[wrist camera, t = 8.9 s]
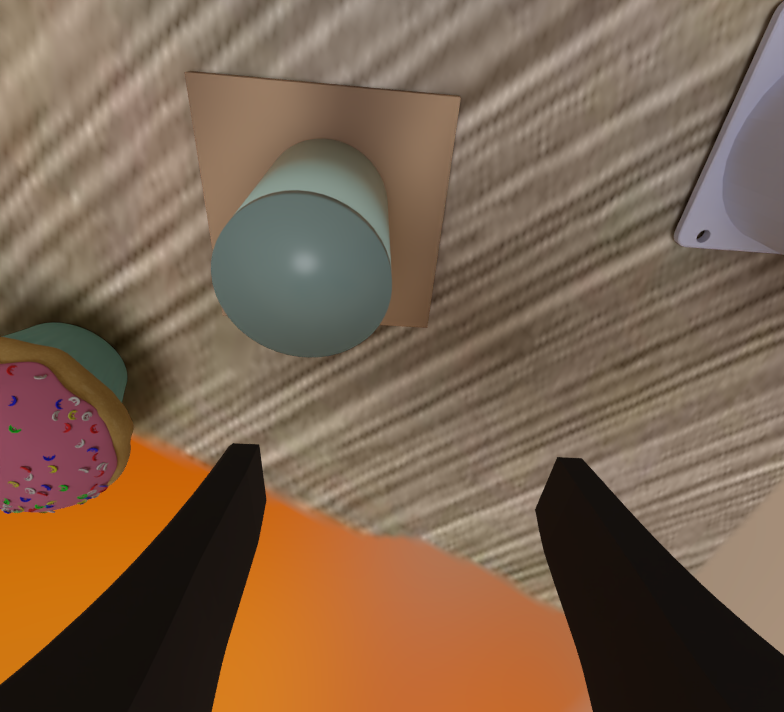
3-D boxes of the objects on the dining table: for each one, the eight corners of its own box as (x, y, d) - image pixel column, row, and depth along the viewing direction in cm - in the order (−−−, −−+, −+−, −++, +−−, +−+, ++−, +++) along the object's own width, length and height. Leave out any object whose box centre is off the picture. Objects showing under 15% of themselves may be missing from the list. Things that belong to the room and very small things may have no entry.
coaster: (458, 95, 15) (460, 97, 15) (425, 321, 20) (427, 327, 20) (191, 71, 15) (184, 72, 14) (226, 308, 20) (223, 315, 19)
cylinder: (390, 141, 15) (396, 199, 10) (385, 263, 18) (388, 358, 13) (256, 135, 15) (192, 191, 10) (272, 260, 18) (228, 355, 13)
